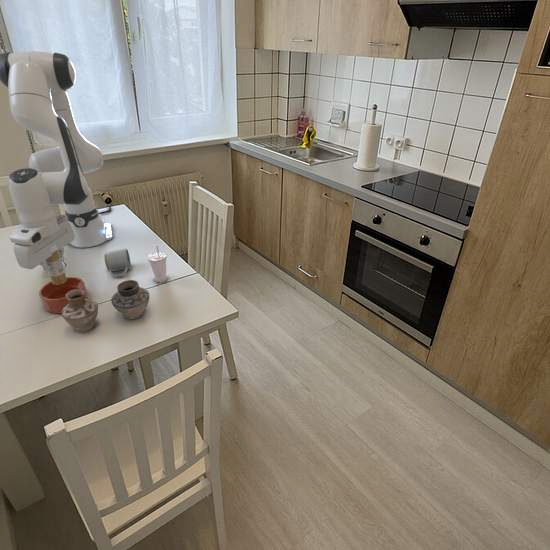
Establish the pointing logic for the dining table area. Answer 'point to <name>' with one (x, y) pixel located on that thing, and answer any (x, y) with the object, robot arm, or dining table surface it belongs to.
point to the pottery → (124, 301)
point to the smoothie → (158, 265)
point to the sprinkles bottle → (56, 267)
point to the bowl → (60, 294)
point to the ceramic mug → (117, 261)
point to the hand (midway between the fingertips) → (54, 265)
